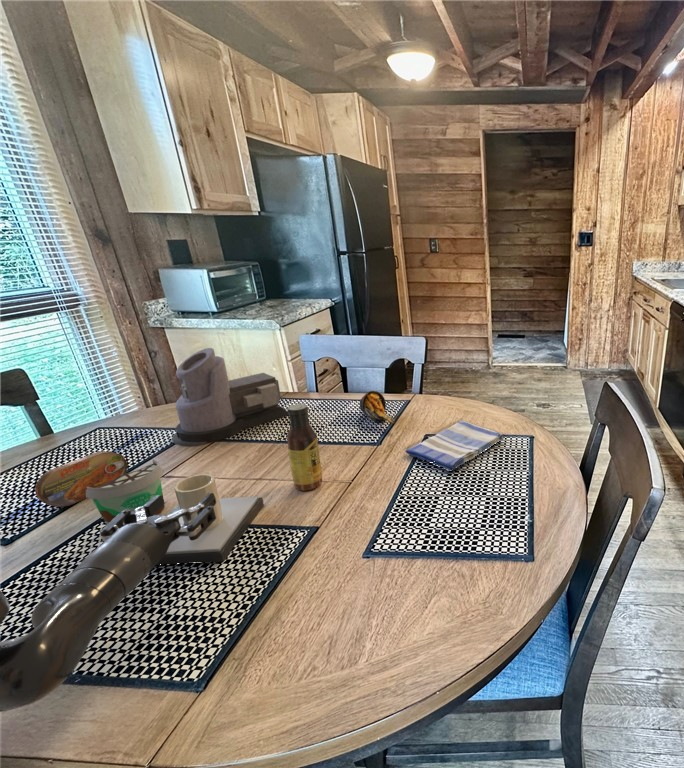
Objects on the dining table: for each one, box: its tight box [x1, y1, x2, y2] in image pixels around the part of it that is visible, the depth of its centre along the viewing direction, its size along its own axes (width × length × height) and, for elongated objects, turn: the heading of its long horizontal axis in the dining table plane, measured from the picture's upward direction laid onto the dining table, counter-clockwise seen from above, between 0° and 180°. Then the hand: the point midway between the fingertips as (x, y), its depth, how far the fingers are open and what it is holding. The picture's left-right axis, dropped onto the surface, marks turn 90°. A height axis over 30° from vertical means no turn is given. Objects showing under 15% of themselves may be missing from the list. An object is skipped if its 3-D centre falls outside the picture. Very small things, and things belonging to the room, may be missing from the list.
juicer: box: [171, 347, 289, 447], centre depth 123 cm, size 30×16×24 cm, turn 145°
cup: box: [174, 473, 223, 531], centre depth 80 cm, size 6×6×9 cm
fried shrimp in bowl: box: [359, 390, 396, 424], centre depth 133 cm, size 9×11×18 cm
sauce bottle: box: [286, 403, 323, 492], centre depth 95 cm, size 7×6×20 cm
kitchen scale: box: [156, 496, 264, 565], centre depth 81 cm, size 16×17×3 cm
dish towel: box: [405, 420, 505, 470], centre depth 118 cm, size 17×24×3 cm
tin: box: [34, 451, 128, 508], centre depth 91 cm, size 15×3×8 cm, turn 161°
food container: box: [86, 459, 165, 526], centre depth 84 cm, size 12×6×10 cm, turn 160°
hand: (187, 498), depth 76 cm, fingers open, 8 cm apart
